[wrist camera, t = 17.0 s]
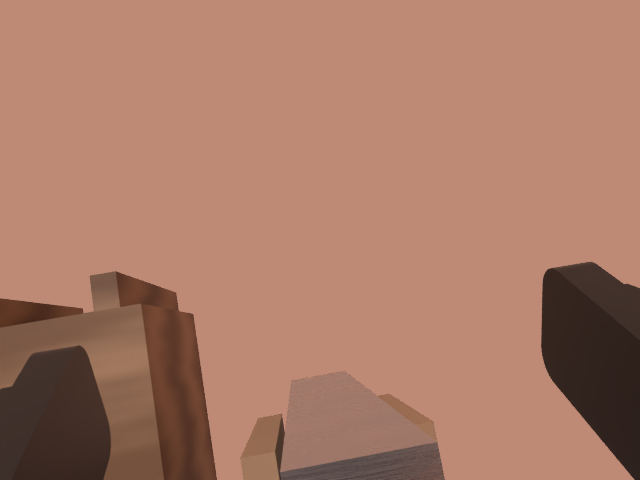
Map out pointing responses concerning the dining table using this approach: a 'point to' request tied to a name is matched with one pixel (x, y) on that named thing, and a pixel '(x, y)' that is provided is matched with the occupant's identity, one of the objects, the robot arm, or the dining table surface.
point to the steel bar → (352, 435)
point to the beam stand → (127, 372)
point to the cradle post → (268, 441)
